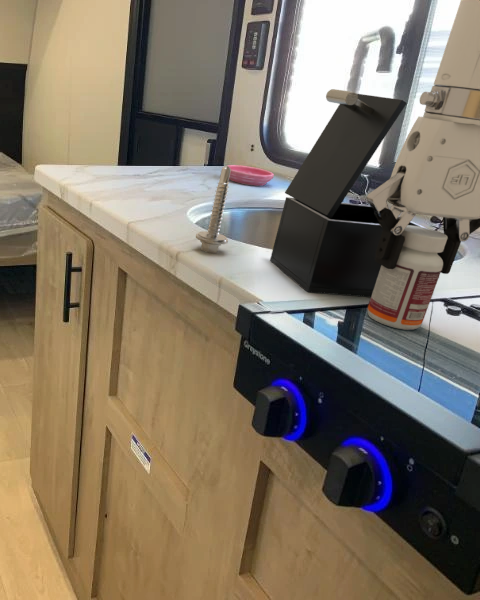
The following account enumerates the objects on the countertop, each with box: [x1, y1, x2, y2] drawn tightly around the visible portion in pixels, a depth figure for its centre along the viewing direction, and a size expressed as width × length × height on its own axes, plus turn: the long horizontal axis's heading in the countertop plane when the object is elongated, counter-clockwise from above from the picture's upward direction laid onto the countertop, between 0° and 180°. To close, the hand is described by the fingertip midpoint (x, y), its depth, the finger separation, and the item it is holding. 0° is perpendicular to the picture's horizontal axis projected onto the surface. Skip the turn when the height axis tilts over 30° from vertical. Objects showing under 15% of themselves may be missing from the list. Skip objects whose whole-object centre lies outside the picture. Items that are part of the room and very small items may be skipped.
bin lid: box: [284, 88, 408, 218], centre depth 78 cm, size 15×13×5 cm
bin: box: [269, 196, 427, 298], centre depth 84 cm, size 15×13×10 cm
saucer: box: [226, 164, 275, 187], centre depth 155 cm, size 12×12×3 cm
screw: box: [195, 165, 231, 254], centre depth 89 cm, size 13×5×5 cm
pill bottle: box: [366, 225, 448, 331], centre depth 71 cm, size 6×6×11 cm
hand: (411, 266), depth 70 cm, fingers closed on pill bottle, 6 cm apart
